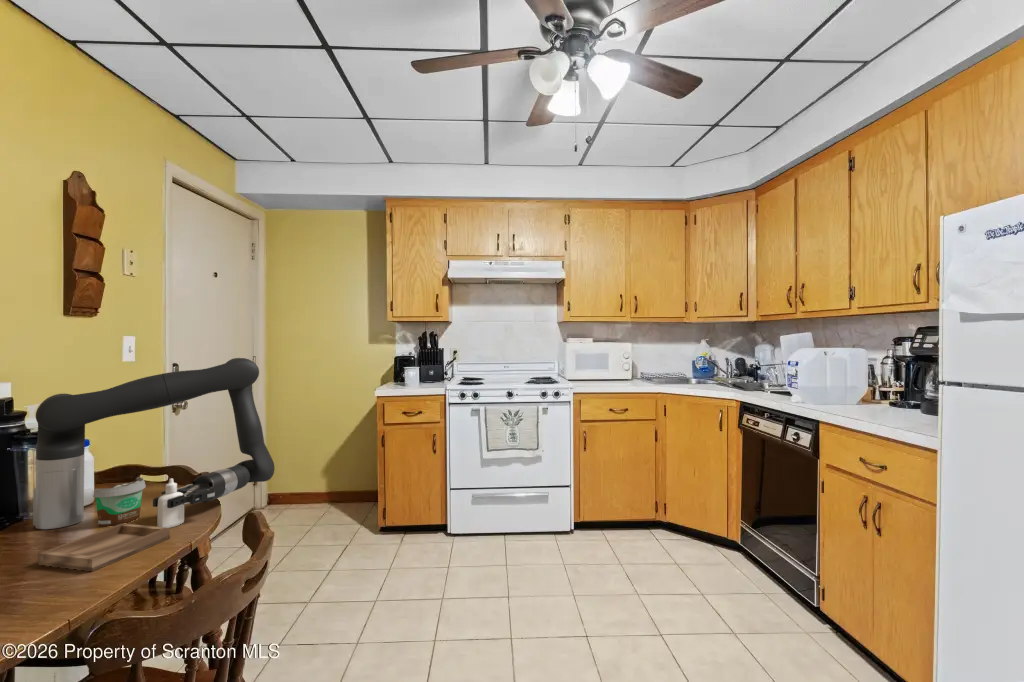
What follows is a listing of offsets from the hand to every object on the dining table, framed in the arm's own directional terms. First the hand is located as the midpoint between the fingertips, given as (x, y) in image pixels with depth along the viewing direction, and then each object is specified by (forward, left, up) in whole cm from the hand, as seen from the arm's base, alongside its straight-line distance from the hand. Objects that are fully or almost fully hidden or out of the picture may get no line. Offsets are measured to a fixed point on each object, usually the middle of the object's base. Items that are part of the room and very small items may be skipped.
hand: (161, 503), depth 125 cm
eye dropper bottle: (0, +3, -7) cm, 7 cm away
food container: (-14, +3, -7) cm, 16 cm away
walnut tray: (0, -13, -6) cm, 15 cm away
